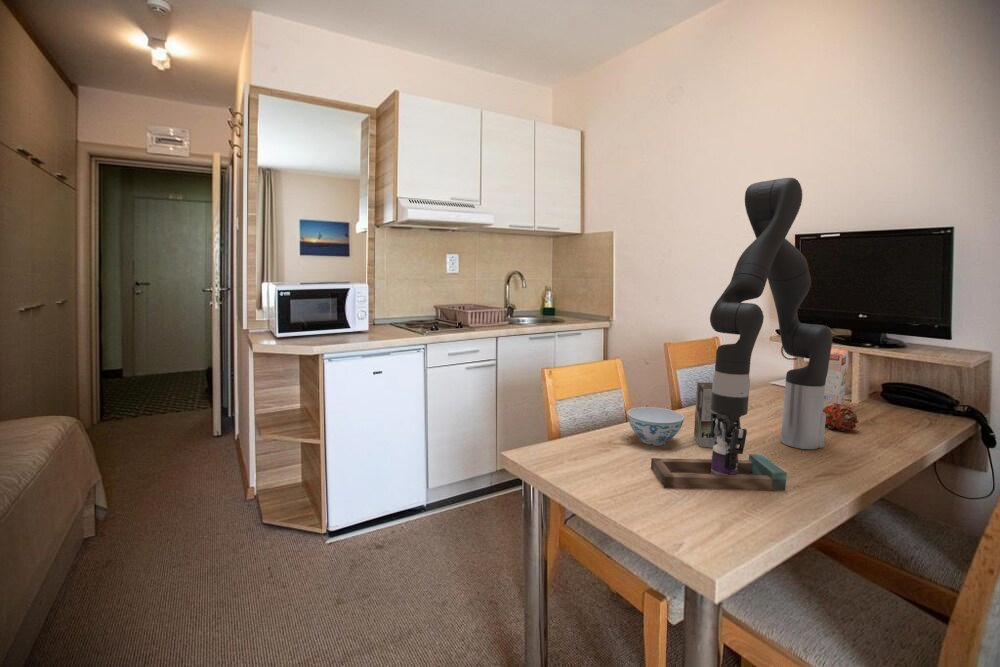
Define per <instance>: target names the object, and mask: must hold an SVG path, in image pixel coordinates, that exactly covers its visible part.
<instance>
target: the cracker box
mask: <svg viewBox="0 0 1000 667" xmlns="http://www.w3.org/2000/svg"><path fill="white" fill-rule="evenodd" d="M849 357H850V350H849V349H844V348H842V349H841V348H833V347H831V353H830V359H829V367H828V373H827V377H826V383H825V393H824V404H823V408H825V407H826V406H831V405H834V404H833V403H837V404H841V405H842V404H845V402H844V400H845V394H846V393H845V392H846V384H847V376H848V369H849V360H850V358H849Z"/></svg>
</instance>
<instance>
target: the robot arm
mask: <svg viewBox="0 0 1000 667" xmlns="http://www.w3.org/2000/svg"><path fill="white" fill-rule="evenodd" d="M802 201H803V189H802V186H801V183H800V182H799V180H798V179H797V178H795V177H783V178H776V179H769V180H765V181H763V180H762V181H759V182H755V183H751V184H750V185H749V186H748V187H747V188H746V190H745V193H744V206H745V211H746V215H747V218H748V220H749V222H750V226H751V229H752V231H753V234H754V235H755V239H754V241H752V242H751V244H749V245H748V246H747V247H746V248H745V250H744V251H743V252H742V253H741V255H740V256H739V258H738V260H737V262H736V264H735V268H734V271H733V274H732V276H731V280H730V282H729V284H728V285H727V287H726V288H725V290H724V291H723V292H722V294H721V295H720V296H719V298H718V299H717V301H716V302H715V304H713V307H712V309H711V312H710V315H709V323H710V325H711V327H712V330H714V331H715V332H718V333H721V334H729V335H739V338H738V340H737V341H736V343H735V342H734V343H727V344H721V345H718V347H717V349H716V351H715V352H716V354H715V363H714V364H715V366H714V374H713V377H712V383H713V386H712V399H711V410H712V411H713V412H715V413H711V438H714V443H716V444H718V443H717V436H719V435H722V439H723V442H724V443H725V447H726V455H725V469H727V470H735V469H736V461H737V454H738V455H743V453H744V449H745V444H746V438H747V434H748V431H747V429H746V428H742V427H741V420H740V419H741V417H743V416H745V415H747V414H748V409H749V398H750V387H751V386H750V384H751V382H750V380H751V379H750V371H751V359H752V354H753V349H754V348H755V344H756V341H757V338H758V336H759V333H761V329H762V327H763V324H764V312H763V310H762V308H761V307H760V306H759V305H758V304H756V303H752V302H745V301H750V300H754V299H758V298H760V297H761V296H762V295H763V292H764V291H765V287H766V284H767V281H768V284H769V289H770V291H771V295H772V298H773V301H774V302H773V303H774V306H775V310H776V315H777V319H778V321H777V322H778V326H779V327H778V328H779V335H780V339H781V340H780V341H781V344H782V348H783V350H784V352H785V353H786V354H787V355H788V356H790V357H791V356H792V357H795V358H801V359H809V360H808V362H807V365H806V366H804V367H800V368H794V369H790V370H787V371H786V375H785V386H784V387H785V388H784V399H783V408H782V421H781V422H782V423H781V432H780V433H781V434H780V442H781V443H782V444H784V445H786V446H789V447H792V448H796V449H802V450H816V449H820V448H824V441H825V440H824V439H825V432H826V430H825V429H826V423H825V422H826V413H824V412H823V404H824V393H825V383H826V377H827V373H828V367H829V359H830V353H831V348H833V333H832V329H831V328H830V327H829V326H827V325H824V324H813V323H812V324H811V323H802V322H800V320H799V316H798V310H799V308H800V306H801V304H802V303H803V302H804V300H805V298H806V296H807V295H808V293H809V291H810V289H811V286H812V279H811V274H810V268H809V265H808V260H807V258H806V257H805V256H804V254H803V253H802V252H801V251H800V250H799V249H798V248H797V247H796V246H795V245H793V244H792V243H791V241H789V240H788V239H787V235H788V233H789V232H790V230H791V228H792V226H793V224H794V222H795V221H796V218H797V216H798V214H799V212H800V209H801V206H802ZM727 437H728V438H731V439H728V438H727ZM730 443H731V444H730ZM716 444H715V445H716Z"/></svg>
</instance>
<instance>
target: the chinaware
mask: <svg viewBox="0 0 1000 667" xmlns="http://www.w3.org/2000/svg"><path fill="white" fill-rule="evenodd" d="M626 415H627V420H628V424H629V426H630V429H632V431H633V432H634V433H635V434H636V435H637V436H638V437H639V438H640V441H641V440H642V441H643V442H642V441H641V442H642V443H644V442H645V443H644V444H646V443H648V444H647V445H650V444H653V445H652V446H664V445H666V444H667V442H668V441H670V439H673V437H675V436H676V435H677V434H678V433H679V432H680V430H681V429H682V428H681V427H682V425H683V423H684V421H685V420H684V419H685V416H684V415H683V414H682V413H680V412H678V411H676V410H671V409H668V408H662V407H656V406H655V407H653V406H651V407H650V406H641V407H640V406H639V407H633V408H630V409H627V412H626ZM663 444H664V445H663Z"/></svg>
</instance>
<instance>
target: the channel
mask: <svg viewBox="0 0 1000 667" xmlns="http://www.w3.org/2000/svg"><path fill="white" fill-rule="evenodd" d="M650 460H651V462H650V469H651V470H652V472H653V473H654V474H655V476H656V478H657V479H658V480H659V482H660V484H661V485H662V486H663V488H664V489H698V490H699V489H700V490H701V489H703V490H737V491H738V490H743V491H744V490H745V489H747V490H748V491H752V490H753V491H754V490H755V491H784V490H785V491H786V486H787V478H788V477H787V476H788V473H787V472H786V471H785V470H783V469H782V468H781V467H779V466H778V465H777V464H775V463H774V462H773V461H772V460H771V459H769V458H767V457H766V456H765V455H763V454H762V453H761V454H760V453H759V454H757V453H750V454H748V459H738V465H737V475H721V474H711V465H712V458H710V459H709V458H708V459H707V458H706V459H705V458H666V457H665V458H661V457H659V458H656V457H655V458H654V457H652V458H651V459H650ZM748 473H751V474H748ZM745 491H746V490H745Z"/></svg>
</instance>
